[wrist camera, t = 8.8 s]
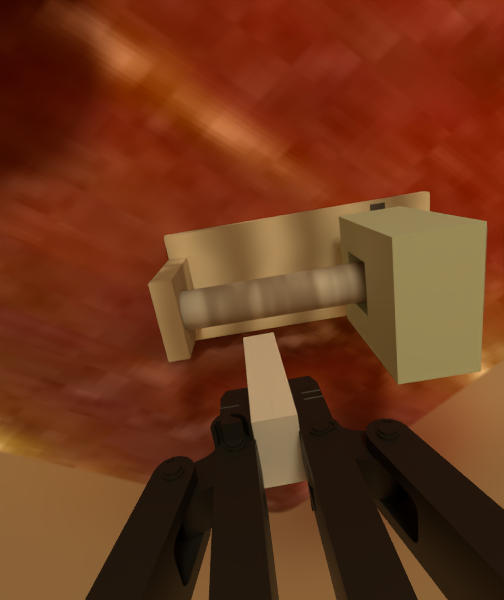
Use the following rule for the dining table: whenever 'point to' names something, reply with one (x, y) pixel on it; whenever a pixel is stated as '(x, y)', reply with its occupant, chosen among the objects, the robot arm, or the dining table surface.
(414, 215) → the square sliding block
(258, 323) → the rail stand
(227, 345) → the dining table surface
